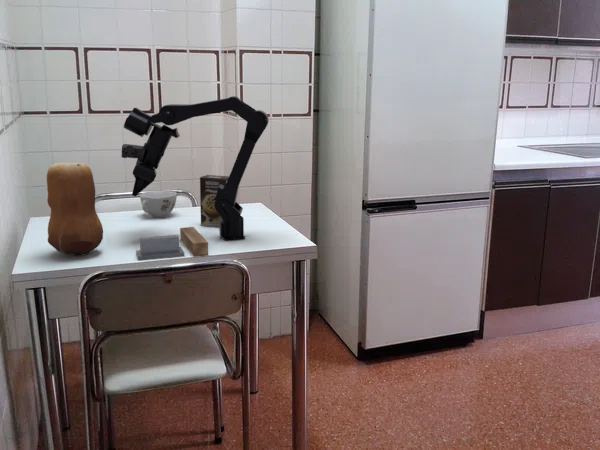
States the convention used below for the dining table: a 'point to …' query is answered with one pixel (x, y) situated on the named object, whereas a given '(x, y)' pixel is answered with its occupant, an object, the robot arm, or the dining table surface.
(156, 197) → the teacup
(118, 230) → the dining table surface
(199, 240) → the batten
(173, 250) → the ridge
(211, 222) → the coffee box
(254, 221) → the dining table surface
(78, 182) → the butternut squash
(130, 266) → the dining table surface
